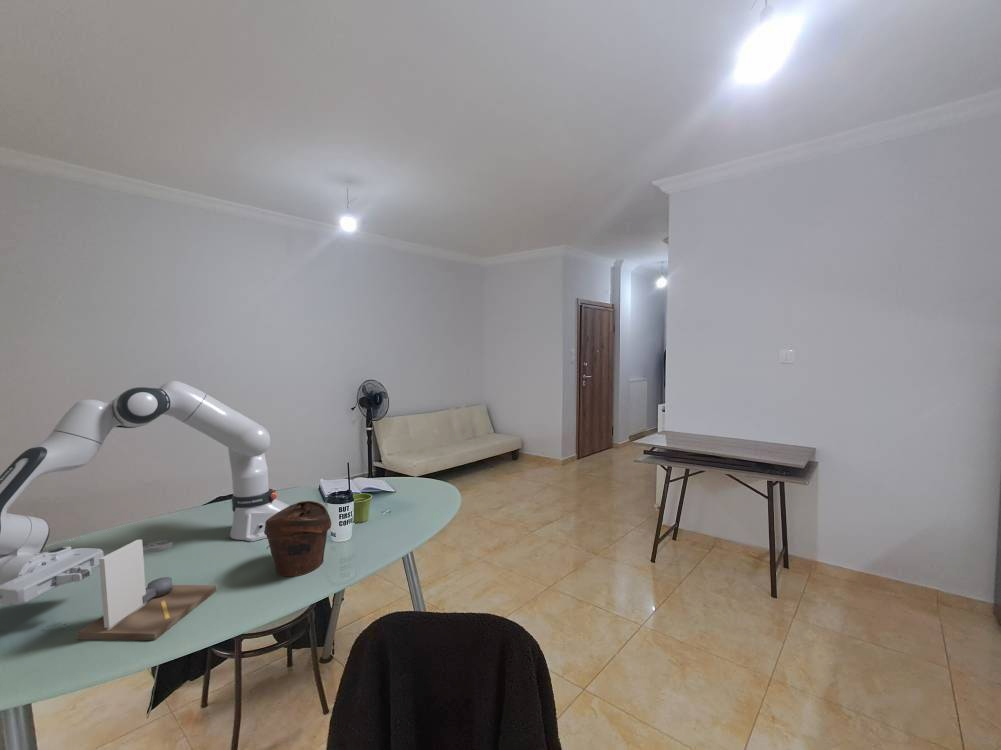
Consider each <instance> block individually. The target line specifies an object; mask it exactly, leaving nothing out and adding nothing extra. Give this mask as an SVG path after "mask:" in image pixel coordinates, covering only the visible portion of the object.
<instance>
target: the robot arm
mask: <svg viewBox="0 0 1001 750" xmlns="http://www.w3.org/2000/svg"><path fill="white" fill-rule="evenodd" d="M162 415H165V416H169V417H172V418H174V419H176V420H178V421H180V422H181V423H183V424H184V425H187V426H189V427H190V428H192V429H195V430H196V431H198V432H200V433H202V434H203V435H206V436H207V437H209V438H211V439H213V440H215V441H216V442H218V443H220V444H222V445H223V446H226V448H227V449H228V456H229V463H230V464H229V465H230V468H231V481H232V494H231V500H230V501H231V510H232V512H233V513H232V514H233V515H232V524H231V528H230V533H229V537H230V538H231V539H233V540H239V541H240V540H242V541H246V542H255V541H259V540H264V539H267V535H265V534H264V531H265V523H266V520H268V519H269V518H270V517H272V516H273V515H275V514H276V513H278V512H279V511H281V510H283V509H285V508H287V507H289V506H290V504H287V503H286V502H283V501H282V500H279V498H278V494H277V492H276V490H275V489H274V488H269V487H270V486H269V484H270V483H269V481H270V480H269V468H268V467H269V466H268V464H267V459H266V454H265V453H266V452H267V451H268V450H269V448H270V447H271V434H270V432H269V431H268V430H267V428H266V427H264V426H263V425H261V424H259V423H258V422H256V421H254V420H252V419H251V418H249V417H247V416H245V415H244V414H242V413H241V412H239V411H237V410H235V409H233V408H232V407H230V406H228V405H227V404H225V403H223V402H221V401H219V400H218V399H216V398H214V397H212V396H211V395H209V394H208V393H206V392H204V391H202V390H200V389H198V388H196V387H195V386H192V385H189V384H187V383H185V382H181V381H179V380H170V381H166V382H165V383H163V384H162V385H161V386H159V388H157V387H153V388H152V387H143V386H139V387H133V388H129V389H127V390H125V391H124V392H122V393H120V394H119V395H117V396H116V397H115V398H114V399H112V400H111V401H109V402H108V401H107V402H106V401H102V400H100V399H99V400H98V399H93V398H91V399H83V400H82V399H81V400H79V401H77V402H76V403H74V404H73V406H71V408H69V410H68V411H67V412H66V413H65V414H64V415H63V416H62V418H61V419H60V420H59V421H58V422H57V424H56V425H55V427H54V428H53V430H52V431H51V433H50V434H49V435H48V437H46V439H45V440H43V441H42V442H41V443H40V444H38V445H37V446H35V447H30V448H28V449H26V450H24V451H23V452H22V453H21V454H19V455H18V457H16V458H15V459H14V460H13V461H12V462H11V463H10V464H9V466H7V468H6V469H5V470H4V471H3V472H2V474H0V604H3V605H4V604H5V605H13V606H19V605H23V604H26V603H28V602H30V601H32V600H34V599H36V598H38V597H41V596H42V595H44V594H45V593H48V592H50V591H52V590H54V589H56V588H57V587H60V586H62V585H65V584H69V583H70V584H71V583H73V582H78V583H79V582H81V581H83V580H84V579H87V578H89V577H90V576H92V574H93V573H92V570H93V569H95V568H96V567H98V566H100V564H99V559H100V558H102V557H104V556H105V554H104V551H103V550H102V549H101V548H95V547H93V548H92V547H79V548H73V547H71V546H63V547H62V546H61V547H58V548H56V549H51V550H48V551H44V552H43V550H44V548H45V547H46V544H47V543H48V540H49V537H50V532H51V531H50V526H49V525H50V524H49V523H48V522H47V520H46V519H44V518H41V517H35V516H30V515H23V514H15V513H9V512H8V509H10V507H11V506H12V505H13V504H14V502H15V501H16V500H17V498H18V497H20V495H21V494H22V492H24V490H25V489H26V488H27V487H28V486H29V484H30V483H32V482H33V481H34V480H35V479H37V478H39V477H41V476H45V475H46V474H50V473H57V472H66V471H72V470H77V469H79V468H83V466H84V467H85V465H88V464H89V463H90V462H92V460H93V459H94V458H95V457H96V456H97V454H98V453H99V451H100V449H101V448H102V446H103V443H104V442H105V440H106V438H107V436H108V435H109V434H110V433H111V431H113V429H115V428H123V429H135V428H140V427H142V426H146V425H149V424H150V423H151V422H153V421H155V420H156V419H157V418H159V417H161V416H162ZM277 498H278V499H277Z"/></svg>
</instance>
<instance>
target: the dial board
mask: <svg viewBox="0 0 1001 750" xmlns="http://www.w3.org/2000/svg"><path fill="white" fill-rule="evenodd" d="M147 589H148V586H147V587H146V590H147ZM216 592H217V585H215V584H214V585H211V584H209V585H205V584H201V585H200V584H199V585H198V584H194V585H193V584H172V590H171V591H170V592H168V593H166V594H164V595H161V596H157V597H152V598H151V599H149V600H148V601H146V602H147V603H145V604H144V605H142V606H141V607H139V608H138V609H136V610H135V611H133V612H132V613H131V614H129V615H128V616H126V617H125V618H123V619H122V620H120V621H119V622H117V623H116V624H115V625H113V626H112V627H110V628H104V617H103V615H102V616H101V617H98V619H96V620H95V621H93V622H91V623H89V625H87V626H85V627H84V628H82V629H80V630H79V631H78V632H77V633H76V634H77V640H115V641H116V640H119V641H120V640H121V641H122V640H123V641H124V640H126V641H129V640H130V641H157V639H159V638H160V637H161V636H162V635H163V634H165V633H166V632H167V631H169V629H171V628H173V627H174V626H175V625H176V624H177V623H178V622H180V621H181V620H182V619H183V618H185V617H186V616H187V615H188V614H189V613H191V612H192V611H194V609H196V608H197V607H198V606H199V605H201V604H202V603H203V602H204V601H206V600H207V599H208V598H210V597H211V596H212V595H213V594H214V593H216Z"/></svg>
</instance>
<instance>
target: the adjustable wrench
mask: <svg viewBox="0 0 1001 750" xmlns="http://www.w3.org/2000/svg"><path fill="white" fill-rule="evenodd" d="M173 546H174V545H173V541H170V542H168V540H167V539H165V540H164V539H162V540H158V541H154V542H150V543H148V544H146V545H145V546H143V554H149V553H155V552H161V551H166V550H168V549H170V548H172V547H173Z"/></svg>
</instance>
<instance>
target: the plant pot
mask: <svg viewBox="0 0 1001 750" xmlns="http://www.w3.org/2000/svg"><path fill="white" fill-rule="evenodd" d="M352 495H353V498H354V521H353V522H352V523H354V524H358V523H365V522H367V521H369V519H370V518H369V517H370V516H369V515H370V507H371V501H372V498H373V495H372V494H370V493H366V492H365V493H364V492H363V493H355V494H352Z"/></svg>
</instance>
